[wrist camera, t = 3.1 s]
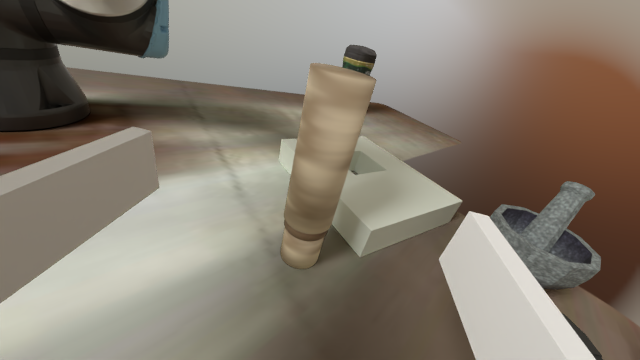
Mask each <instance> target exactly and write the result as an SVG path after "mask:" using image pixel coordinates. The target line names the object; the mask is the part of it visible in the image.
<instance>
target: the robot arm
mask: <svg viewBox="0 0 640 360" xmlns="http://www.w3.org/2000/svg"><path fill="white" fill-rule="evenodd" d="M168 23H169V5H168V0H0V131H17V130H33V129H43V128H50V127H56V126H61V125H66V124H70V123H73V122H76V121H79V120H81V119H83V118H85V117H86V116H88V115H89V113H90V108H89V104H88V101H87V98H86V96H85V94H84V93H83V92H82V90H81V89H80V87H79V86H78V84H77V83H76V81H75V80H74V78H73V77H72V76H71V74H70V73H69V71H68V70H67V68H66V67H65V65H64V64H63V62H62V60H61V57H60V54H59V51H58V47H57V44H62V45H69V46H76V47H82V48H89V49H96V50H103V51H109V52H115V53H122V54H129V55H135V56H138V57H140V58H145V57H150V58H164V57H165V56H166V55H167V54H168V48H169V30H168V27H169V24H168ZM158 188H159V182H158V175H157V168H156V161H155V154H154V146H153V139H152V132H151V131H148V130H144V129H140V128H136V127H131V128H128V129H126V130H123V131H120V132H118V133H115V134H112V135H110V136H107V137H104V138H101V139H99V140H96V141H93V142H91V143H88V144H85V145H83V146H80V147H77V148H75V149H72V150H69V151H67V152H64V153H61V154H58V155H56V156H53V157H50V158H48V159H45V160H42V161H40V162H37V163H34V164H32V165H29V166H26V167H24V168H21V169H18V170H15V171H13V172H10V173H7V174H5V175H2V176H0V303H1V302H3V301H4V300H6V299H7V298H8V297H10V296H11V295H12V294H14V293H15V292H17V291H18V290H19V289H21V288H22V287H23V286H25V285H26V284H28V283H29V282H30V281H32V280H33V279H34V278H36V277H37V276H39V275H40V274H41V273H43V272H44V271H45V270H47V269H48V268H50V267H51V266H52V265H54V264H55V263H56V262H58V261H59V260H61V259H62V258H63V257H65V256H66V255H67V254H69V253H70V252H72V251H73V250H74V249H76V248H77V247H78V246H80V245H81V244H83V243H84V242H85V241H87V240H88V239H89V238H91V237H92V236H94V235H95V234H96V233H98V232H99V231H100V230H102V229H103V228H105V227H106V226H107V225H109V224H110V223H111V222H113V221H114V220H116V219H117V218H118V217H120V216H121V215H122V214H124V213H125V212H127V211H128V210H129V209H131V208H132V207H133V206H135V205H136V204H138V203H139V202H140V201H142V200H143V199H145V198H146V197H147V196H149V195H150V194H151V193H153V192H154V191H156V190H157V189H158ZM439 261H440V264H441V267H442V269H443V272H444V275H445V277H446V280H447V283H448V285H449V288H450V291H451V294H452V296H453V299H454V302H455V304H456V307H457V310H458V313H459V315H460V318H461V321H462V323H463V326H464V329H465V331H466V334H467V337H468V340H469V342H470V345H471V348H472V350H473V353H474V356H475V359H476V360H603V359H602V355H601V354H600V353H599V351H598V350H597V349H596V348H595V346H594V345H593V344H592V342H591V341H590V340H589V338H588V337H587V336H586V335H585V334H584V333H583V332H582V331H581V330H580V329H579V328H578V327H577V326H576V325H575V324H574V323H573V322H572V321H571V320H570V319H569V318H568V317H566V316H565V315H564V314H562V313H561V312H560V311H559V310H558V308H557V307H556V306H555V304H554V303H553V302H552V300H551V299H550V298H549V296H548V295H547V294H546V292H545V291H544V290H543V288H542V287H541V286H540V284H539V283H538V282H537V280H536V279H535V278H534V276H533V275H532V274H531V272H530V271H529V270H528V268H527V267H526V265H525V264H524V263H523V261H522V260H521V259H520V257H519V256H518V255H517V253H516V252H515V251H514V249H513V248H512V247H511V245H510V244H509V243H508V241H507V240H506V239H505V237H504V236H503V235H502V233H501V232H500V231H499V229H498V228H497V227H496V225H495V224H494V223H493V221H492V220H491V219H490V217H489V216H486V215H482V214H478V213H474V212H470V211H469V213H468V214H467V216H466V217H465V219H464V221H463V222H462V224H461V225H460V227H459V228H458V230H457V231H456V233H455V235H454V236H453V238H452V239H451V241H450V242H449V244H448V245H447V247H446V249H445V250H444V252H443V253H442V255H441V256H440V258H439Z"/></svg>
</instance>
